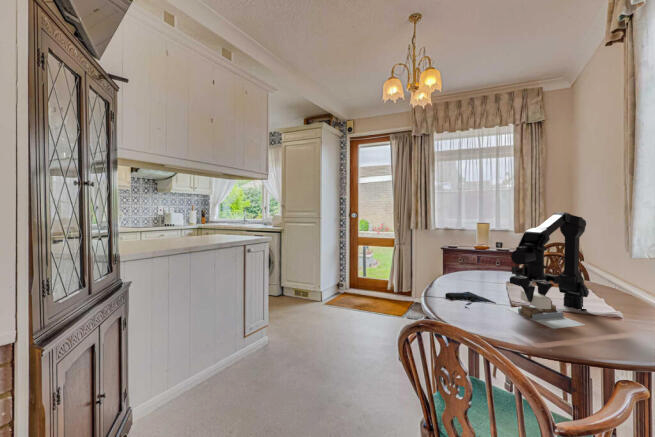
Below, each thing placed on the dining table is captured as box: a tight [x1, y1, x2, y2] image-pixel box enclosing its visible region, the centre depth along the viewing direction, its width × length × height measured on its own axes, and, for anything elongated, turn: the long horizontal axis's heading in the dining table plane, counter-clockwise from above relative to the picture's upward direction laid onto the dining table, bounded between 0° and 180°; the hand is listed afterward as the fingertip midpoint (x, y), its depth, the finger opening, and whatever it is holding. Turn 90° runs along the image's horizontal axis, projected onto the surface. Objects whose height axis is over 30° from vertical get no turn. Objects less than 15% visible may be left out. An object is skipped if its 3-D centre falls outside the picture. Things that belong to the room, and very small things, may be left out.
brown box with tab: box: [520, 300, 557, 319], centre depth 119 cm, size 12×4×6 cm, turn 100°
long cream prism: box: [520, 289, 552, 309], centre depth 118 cm, size 4×12×4 cm, turn 178°
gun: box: [445, 291, 497, 310], centre depth 139 cm, size 24×3×15 cm
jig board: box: [505, 305, 585, 330], centre depth 118 cm, size 14×22×3 cm, turn 10°
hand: (535, 301), depth 118 cm, fingers closed on long cream prism, 4 cm apart
